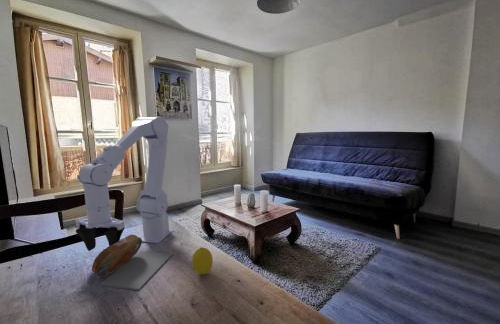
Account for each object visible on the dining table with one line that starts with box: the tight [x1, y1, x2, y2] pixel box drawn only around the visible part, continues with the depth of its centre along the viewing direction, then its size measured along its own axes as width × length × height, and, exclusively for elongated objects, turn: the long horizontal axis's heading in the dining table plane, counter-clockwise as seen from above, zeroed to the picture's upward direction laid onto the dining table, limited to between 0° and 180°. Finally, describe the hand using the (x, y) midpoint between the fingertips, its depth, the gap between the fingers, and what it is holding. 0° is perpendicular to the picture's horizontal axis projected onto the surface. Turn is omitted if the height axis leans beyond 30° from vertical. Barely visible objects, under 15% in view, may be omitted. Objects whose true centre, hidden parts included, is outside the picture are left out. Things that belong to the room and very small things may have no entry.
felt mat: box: [100, 250, 173, 291], centre depth 70 cm, size 17×11×1 cm, turn 170°
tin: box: [91, 234, 143, 278], centre depth 69 cm, size 15×3×8 cm, turn 161°
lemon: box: [191, 246, 214, 276], centre depth 66 cm, size 6×6×8 cm
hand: (102, 250), depth 70 cm, fingers open, 7 cm apart
